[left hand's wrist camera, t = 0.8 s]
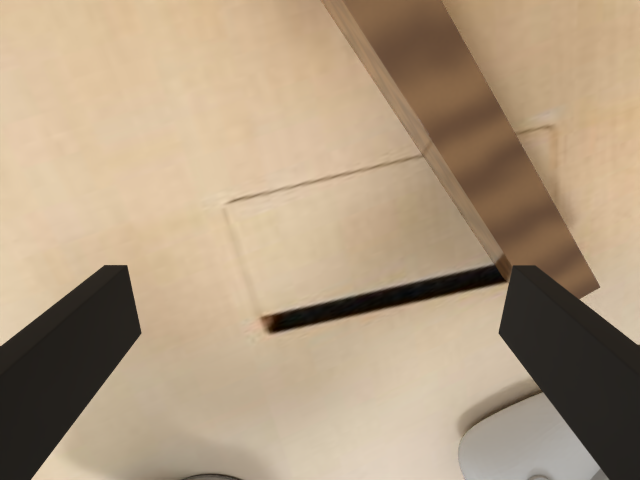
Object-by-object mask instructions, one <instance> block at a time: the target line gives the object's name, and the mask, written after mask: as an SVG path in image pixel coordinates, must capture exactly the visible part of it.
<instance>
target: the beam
mask: <svg viewBox="0 0 640 480" xmlns="http://www.w3.org/2000/svg"><path fill="white" fill-rule="evenodd" d="M321 1H322V3H323V4H324V6H325V7H326V9H327V10H328V12H329V13H330V15H331V16H332V18H333V19H334V21H335V22H336V24H337V25H338V27H339V28H340V30H341V32H342V33H343V35H344V36H345V38H346V39H347V41H348V42H349V44H350V45H351V47H352V48H353V50H354V51H355V53H356V54H357V56H358V57H359V59H360V60H361V62H362V63H363V65H364V67H365V68H366V70H367V71H368V73H369V74H370V76H371V77H372V79H373V80H374V82H375V83H376V85H377V86H378V88H379V89H380V91H381V92H382V94H383V95H384V97H385V98H386V100H387V102H388V103H389V105H390V106H391V108H392V109H393V111H394V112H395V114H396V115H397V117H398V118H399V120H400V121H401V123H402V124H403V126H404V127H405V129H406V130H407V132H408V133H409V135H410V137H411V138H412V140H413V141H414V143H415V144H416V146H417V147H418V149H419V150H420V152H421V153H422V155H423V156H424V158H425V159H426V161H427V162H428V164H429V165H430V167H431V168H432V170H433V172H434V173H435V175H436V176H437V178H438V179H439V181H440V182H441V184H442V185H443V187H444V188H445V190H446V191H447V193H448V194H449V196H450V197H451V199H452V200H453V202H454V203H455V205H456V207H457V208H458V210H459V211H460V213H461V214H462V216H463V217H464V219H465V220H466V222H467V223H468V225H469V226H470V228H471V229H472V231H473V232H474V234H475V235H476V237H477V238H478V240H479V242H480V243H481V245H482V246H483V248H484V249H485V251H486V252H487V254H488V255H489V257H490V258H491V260H492V261H493V263H494V264H495V266H496V267H497V269H498V270H499V272H500V273H501V275H502V277H503V278H504V279H505V280H506V281H507V282H509V281H510V277H511V272H512V267H513V265H536V266H537V267H538V268H540V269H541V270H542V271H543V272H545V273H546V274H547V275H549V276H550V277H551V278H552V279H554V280H555V281H556V282H557V283H559V284H560V285H561V286H563V287H564V288H565V289H566V290H568V291H569V292H570V293H572V294H573V295H574V296H575V297H577V298H578V299H580V298H582V297H584V296H586V295H587V294H589V293H591V292H593V291H595V290H596V289H598V288H600V286H599V284H598V282H597V280H596V278H595V277H594V275H593V273H592V271H591V269H590V268H589V266H588V264H587V262H586V260H585V259H584V257H583V255H582V253H581V251H580V250H579V248H578V246H577V244H576V242H575V241H574V239H573V237H572V235H571V233H570V232H569V230H568V228H567V226H566V224H565V223H564V221H563V219H562V217H561V215H560V214H559V212H558V210H557V208H556V206H555V205H554V203H553V201H552V199H551V197H550V196H549V194H548V192H547V190H546V188H545V187H544V185H543V183H542V181H541V179H540V178H539V176H538V174H537V172H536V170H535V169H534V167H533V165H532V163H531V161H530V160H529V158H528V156H527V154H526V152H525V151H524V149H523V147H522V145H521V143H520V142H519V140H518V138H517V136H516V134H515V133H514V131H513V129H512V127H511V125H510V124H509V122H508V120H507V118H506V116H505V115H504V113H503V111H502V109H501V107H500V106H499V104H498V102H497V100H496V98H495V97H494V95H493V93H492V91H491V89H490V88H489V86H488V84H487V82H486V80H485V79H484V77H483V75H482V73H481V71H480V70H479V68H478V66H477V64H476V62H475V61H474V59H473V57H472V55H471V53H470V52H469V50H468V48H467V46H466V44H465V43H464V41H463V39H462V37H461V35H460V34H459V32H458V30H457V28H456V26H455V25H454V23H453V21H452V19H451V17H450V16H449V14H448V12H447V10H446V8H445V7H444V5H443V3H442V1H441V0H321Z"/></svg>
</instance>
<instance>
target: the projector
mask: <svg viewBox="0 0 640 480" xmlns="http://www.w3.org/2000/svg"><path fill="white" fill-rule="evenodd" d="M458 460H459V465H460V468H461V471H462V474H463V476H464V479H465V480H609V479H608V477H607V476H606V475H605V473H604V472H603V471H602V469H601V468H600V467H599V466H598V464H597V463H596V462H595V460H594V459H593V458H592V456H591V455H590V454H589V452H588V451H587V450H586V448H585V447H584V446H583V444H582V443H581V442H580V440H579V439H578V438H577V436H576V435H575V434H574V432H573V431H572V430H571V428H570V427H569V426H568V425H567V423H566V422H565V421H564V419H563V418H562V417H561V415H560V414H559V413H558V411H557V410H556V409H555V407H554V406H553V405H552V403H551V402H550V401H549V399H548V398H547V397H546V395H545V394H544V393H543V392H542V393H540V394H537V395H535V396H532V397H530V398H527V399H525V400H523V401H520V402H518V403H516V404H513V405H511V406H509V407H507V408H505V409H503V410H501V411H499V412H497V413H495V414H493V415H491V416H489V417H487V418H486V419H484V420H482V421H480V422H479V423H478V424H476V425H475V426H473V427H472V428H471V429H470V430H468V431H467V432H466V433H465V435H464V436H463V438H462V439H461V442H460V444H459V448H458Z"/></svg>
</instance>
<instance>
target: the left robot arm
mask: <svg viewBox="0 0 640 480" xmlns="http://www.w3.org/2000/svg"><path fill="white" fill-rule="evenodd" d="M140 335H141V329H140V324H139V319H138V314H137V310H136V305H135V300H134V296H133V291H132V286H131V281H130V277H129V272H128V267H127V265H104V266H103V267H102V268H100V269H99V270H98V271H97V272H95V273H94V274H93V275H91V276H90V277H89V278H88V279H86V280H85V281H84V282H83V283H81V284H80V285H79V286H77V287H76V288H75V289H74V290H72V291H71V292H70V293H68V294H67V295H66V296H65V297H63V298H62V299H61V300H59V301H58V302H57V303H56V304H54V305H53V306H52V307H51V308H49V309H48V310H47V311H45V312H44V313H43V314H42V315H40V316H39V317H38V318H36V319H35V320H34V321H33V322H31V323H30V324H29V325H27V326H26V327H25V328H24V329H22V330H21V331H20V332H18V333H17V334H16V335H15V336H13V337H12V338H11V339H10V340H8V341H7V342H6V343H4V344H3V345H2V346H0V480H31V479H32V477H33V476H34V475H35V473H36V472H37V471H38V469H39V468H40V467H41V466H42V464H43V463H44V462H45V460H46V459H47V458H48V456H49V455H50V454H51V452H52V451H53V450H54V448H55V447H56V446H57V444H58V443H59V442H60V440H61V439H62V438H63V436H64V435H65V434H66V432H67V431H68V430H69V428H70V427H71V426H72V425H73V423H74V422H75V421H76V419H77V418H78V417H79V415H80V414H81V413H82V411H83V410H84V409H85V407H86V406H87V405H88V403H89V402H90V401H91V399H92V398H93V397H94V395H95V394H96V393H97V391H98V390H99V389H100V387H101V386H102V385H103V383H104V382H105V381H106V380H107V378H108V377H109V376H110V374H111V373H112V372H113V370H114V369H115V368H116V366H117V365H118V364H119V362H120V361H121V360H122V358H123V357H124V356H125V354H126V353H127V352H128V350H129V349H130V348H131V346H132V345H133V344H134V342H135V341H136V340H137V339H138V337H139V336H140ZM499 335H500V336H501V337H502V339H503V340H504V341H505V342H506V344H507V345H508V346H509V348H510V349H511V350H512V352H513V353H514V354H515V356H516V357H517V358H518V360H519V361H520V362H521V364H522V365H523V366H524V368H525V369H526V370H527V372H528V373H529V374H530V376H531V377H532V378H533V380H534V381H535V382H536V383H537V385H538V386H539V387H540V389H541V390H542V391H543V393H544V394H545V395H546V397H547V398H548V399H549V401H550V402H551V403H552V405H553V406H554V407H555V409H556V410H557V411H558V413H559V414H560V415H561V417H562V418H563V419H564V421H565V422H566V423H567V425H568V426H569V427H570V428H571V430H572V431H573V432H574V434H575V435H576V436H577V438H578V439H579V440H580V442H581V443H582V444H583V446H584V447H585V448H586V450H587V451H588V452H589V454H590V455H591V456H592V458H593V459H594V460H595V462H596V463H597V464H598V466H599V467H600V468H601V469H602V471H603V472H604V473H605V475H606V476H607V477H608V479H609V480H640V345H637V344H636V343H634V342H633V341H632V340H630V339H629V338H628V337H627V336H625V335H624V334H623V333H622V332H620V331H619V330H618V329H616V328H615V327H614V326H613V325H611V324H610V323H609V322H607V321H606V320H605V319H604V318H602V317H601V316H600V315H598V314H597V313H596V312H595V311H593V310H592V309H591V308H589V307H588V306H587V305H586V304H584V303H583V302H582V301H581V300H579V299H578V298H577V297H575V296H574V295H573V294H572V293H570V292H569V291H568V290H566V289H565V288H564V287H563V286H561V285H560V284H559V283H557V282H556V281H555V280H554V279H552V278H551V277H550V276H549V275H547V274H546V273H545V272H543V271H542V270H541V269H540V268H538V267H537V266H536V265H513V267H512V272H511V277H510V281H509V286H508V291H507V296H506V300H505V305H504V310H503V314H502V319H501V324H500V329H499ZM184 480H237V479H234V478H231V477H226V476H221V475H199V476H193V477H190V478H186V479H184Z"/></svg>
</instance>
